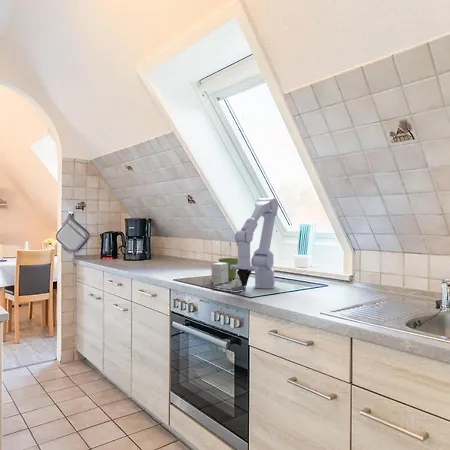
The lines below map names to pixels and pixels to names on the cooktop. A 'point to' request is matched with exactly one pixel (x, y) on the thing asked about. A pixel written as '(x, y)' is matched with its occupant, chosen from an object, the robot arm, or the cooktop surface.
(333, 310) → the cooktop surface
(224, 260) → the plant pot
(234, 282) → the fader knob
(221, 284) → the console strip
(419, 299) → the cooktop surface
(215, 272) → the small box
